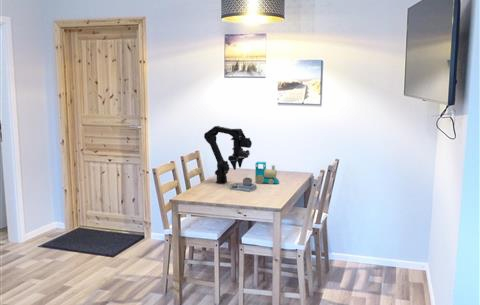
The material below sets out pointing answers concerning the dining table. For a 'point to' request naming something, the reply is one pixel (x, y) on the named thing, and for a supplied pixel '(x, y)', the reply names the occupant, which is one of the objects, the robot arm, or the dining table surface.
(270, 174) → the toy train
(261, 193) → the dining table surface
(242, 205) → the dining table surface
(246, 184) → the grey block with tab
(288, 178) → the dining table surface
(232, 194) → the dining table surface
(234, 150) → the robot arm
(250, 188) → the chassis
